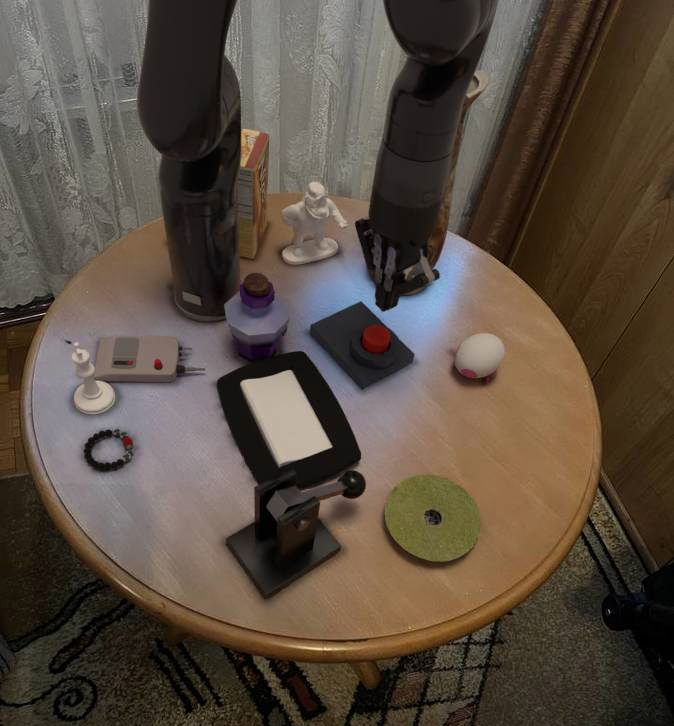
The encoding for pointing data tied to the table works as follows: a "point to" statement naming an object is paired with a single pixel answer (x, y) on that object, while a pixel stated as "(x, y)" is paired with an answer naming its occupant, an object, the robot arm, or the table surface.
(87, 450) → the bracelet
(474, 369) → the stress ball
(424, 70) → the robot arm
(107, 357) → the grey electronic device
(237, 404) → the light switch
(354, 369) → the control box
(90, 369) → the chess piece
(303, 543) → the switch bracket
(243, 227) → the candy box
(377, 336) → the red button
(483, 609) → the table surface
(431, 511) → the mat
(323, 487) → the switch lever
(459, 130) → the vase
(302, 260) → the figurine
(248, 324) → the potion bottle
